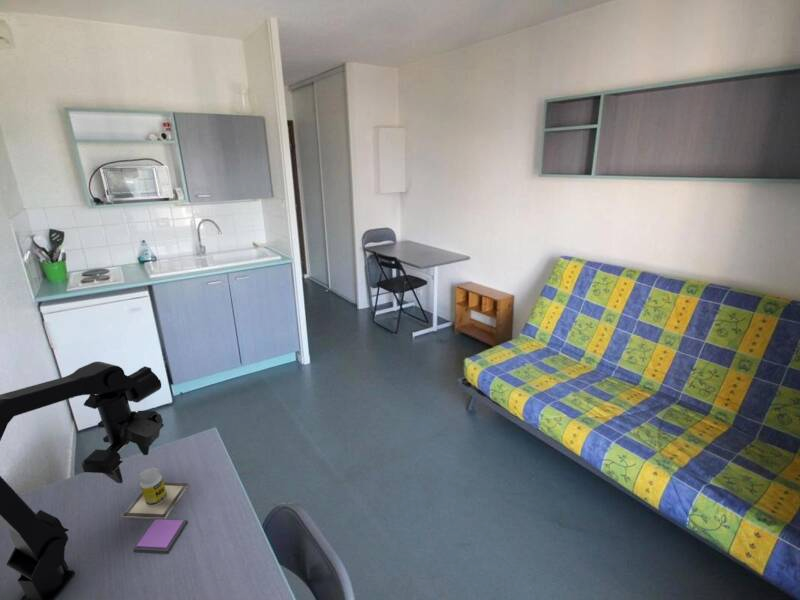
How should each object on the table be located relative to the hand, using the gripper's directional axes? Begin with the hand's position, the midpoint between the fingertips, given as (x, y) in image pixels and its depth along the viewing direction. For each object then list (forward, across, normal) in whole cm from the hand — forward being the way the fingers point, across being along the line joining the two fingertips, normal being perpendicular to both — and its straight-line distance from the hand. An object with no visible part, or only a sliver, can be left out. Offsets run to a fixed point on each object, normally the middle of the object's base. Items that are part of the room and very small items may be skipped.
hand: (133, 468), depth 102 cm
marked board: (+12, +2, -2) cm, 12 cm away
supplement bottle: (+12, +2, -2) cm, 12 cm away
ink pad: (+12, -8, -10) cm, 17 cm away
